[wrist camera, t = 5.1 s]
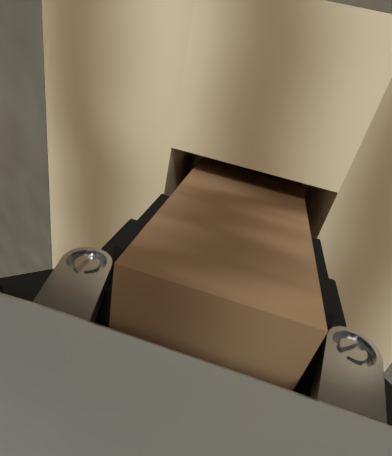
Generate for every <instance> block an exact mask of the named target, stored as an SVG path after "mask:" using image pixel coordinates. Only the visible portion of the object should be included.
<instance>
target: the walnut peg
mask: <svg viewBox="0 0 392 456" xmlns="http://www.w3.org/2000/svg"><path fill="white" fill-rule="evenodd" d="M109 328H112V329H115V330H117V331H120V332H123V333H126V334H129V335H132V336H135V337H138V338H141V339H144V340H147V341H150V342H153V343H156V344H159V345H162V346H164V347H167V348H170V349H173V350H176V351H179V352H182V353H185V354H188V355H191V356H194V357H196V358H199V359H202V360H205V361H208V362H211V363H214V364H217V365H220V366H222V367H225V368H228V369H231V370H234V371H237V372H240V373H243V374H246V375H249V376H251V377H254V378H257V379H260V380H263V381H266V382H269V383H271V384H274V385H277V386H280V387H283V388H286V389H288V390H291V391H293V390H294V388H295V386H296V385H297V383H298V381H299V379H300V378H301V376H302V374H303V373H304V371H305V369H306V368H307V366H308V364H309V363H310V361H311V359H312V358H313V356H314V354H315V353H316V351H317V349H318V347H319V346H320V344H321V342H322V341H323V339H324V337H325V336H326V334H327V332H328V329H327V324H326V318H325V312H324V306H323V301H322V295H321V289H320V284H319V278H318V272H317V267H316V261H315V255H314V249H313V244H312V238H311V232H310V227H309V221H308V215H307V210H306V204H305V198H304V192H303V187H302V183H300V182H296V181H293V180H289V179H285V178H282V177H278V176H274V175H271V174H267V173H263V172H259V171H256V170H252V169H248V168H245V167H241V166H237V165H234V164H230V163H226V162H223V161H219V160H215V159H211V158H208V157H204V156H203V157H202V159H201V160H200V161H199V162H198V163H197V165H196V166H195V167H194V168H193V169H192V171H191V172H190V173H189V174H188V175H187V176H186V178H185V179H184V180H183V181H182V182H181V184H180V185H179V186H178V187H177V188H176V190H175V191H174V192H173V193H172V194H171V196H170V197H169V198H168V199H167V200H166V202H165V203H164V204H163V205H162V206H161V208H160V209H159V210H158V211H157V212H156V214H155V215H154V216H153V217H152V218H151V220H150V221H149V222H148V223H147V224H146V226H145V227H144V228H143V229H142V230H141V232H140V233H139V234H138V235H137V236H136V238H135V239H134V240H133V241H132V242H131V244H130V245H129V246H128V247H127V248H126V250H125V251H124V252H123V253H122V254H121V256H120V257H119V258H118V259H117V260H116V262H115V263H114V271H113V283H112V295H111V308H110V320H109Z"/></svg>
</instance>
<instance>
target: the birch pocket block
mask: <svg viewBox="0 0 392 456" xmlns="http://www.w3.org/2000/svg"><path fill="white" fill-rule="evenodd" d="M42 15H43V40H44V65H45V89H46V114H47V139H48V163H49V188H50V213H51V237H52V262H53V269H54V268H55V267H56V265H57V264H58V262H59V261H60V259H61V258H62V256H63V255H64V254H65V253H67V252H68V251H70V250H72V249H76V248H80V247H95V248H98V249H101V248H102V247H103V246H104V245H105V244H106V243H107V242H108V241H109V240H110V239H111V238H112V237H113V236H114V235H115V234H116V233H117V232H118V231H119V230H120V229H121V228H122V227H123V226H124V225H125V224H126V223H127V222H128V221H129V220H130V219H134V220H138V219H139V218H140V217H141V215H142V214H143V213H144V212H145V211H146V210H147V209H148V208H149V207H150V206H151V205H152V203H153V202H154V201H155V200H156V199H157V198H158V197H159V196H160V195H161V194H165V195H168V196H171V194H172V193H173V192H174V191H175V190H176V188H177V187H178V186H179V185H180V184H181V182H182V181H183V180H184V179H185V178H186V176H187V175H188V174H189V173H190V172H191V171H192V169H193V168H194V167H195V166H196V165H197V163H198V162H199V161H200V160H201V159H202V157H203V156H204V157H208V158H211V159H215V160H219V161H223V162H226V163H230V164H234V165H237V166H241V167H245V168H248V169H252V170H256V171H259V172H263V173H267V174H271V175H274V176H278V177H282V178H285V179H289V180H293V181H296V182H300V183H302V187H303V192H304V198H305V204H306V210H307V215H308V221H309V227H310V232H311V237H314V238H317V239H320V241H321V246H322V250H323V255H324V259H325V264H326V268H327V273H328V277H329V278H330V279H333V280H335V282H336V286H337V290H338V294H339V298H340V302H341V306H342V309H343V313H344V317H345V321H346V325H347V327H348V328H351V329H354V330H356V331H358V332H360V333H361V334H363V335H364V336H366V337H367V338H368V339H369V340H371V341H372V342H373V343H374V345H375V346H376V347H377V348H378V350H379V351H380V353H381V355H382V359H383V368H384V371H385V370H386V369H387V368H388V366H389V365H390V364H391V363H392V14H388V13H383V12H378V11H374V10H369V9H364V8H359V7H354V6H349V5H344V4H339V3H335V2H330V1H325V0H42Z"/></svg>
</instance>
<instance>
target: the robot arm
mask: <svg viewBox="0 0 392 456" xmlns="http://www.w3.org/2000/svg"><path fill="white" fill-rule="evenodd" d="M169 197H170V196H168V195H165V194H161V195H160V196H159V197H158V198H157V199H156V200H155V201H154V202H153V203H152V205H151V206H150V207H149V208H148V209H147V210H146V211H145V212H144V213H143V214H142V215H141V217H140V218H139V219H138V220H134V219H130V220H129V221H128V222H127V223H126V224H125V225H124V226H123V227H122V228H121V229H120V230H119V231H118V232H117V233H116V234H115V235H114V236H113V237H112V238H111V239H110V240H109V241H108V242H107V243H106V244H105V245H104V246H103V247H102V248H101V249H98V248H95V247H80V248H76V249H72V250H70V251H68V252H67V253H65V254H64V255H63V256H62V258H61V259H60V261H59V262H58V264H57V265H56V267H55V268H54V269H50V270H44V271H39V272H33V273H27V274H21V275H16V276H10V277H4V278H0V456H392V385H391V384H390V383H389V382H388V381H387V380H386V379H385V378H384V368H383V359H382V355H381V353H380V351H379V350H378V348H377V347H376V346H375V345H374V343H373V342H372V341H371V340H369V339H368V338H367V337H366V336H364V335H363V334H361V333H360V332H358V331H356V330H354V329H351V328H348V327H347V325H346V321H345V317H344V313H343V309H342V306H341V302H340V298H339V294H338V290H337V286H336V282H335V280H333V279H330V278H329V277H328V273H327V268H326V264H325V259H324V255H323V250H322V246H321V241H320V239H317V238H314V237H311V238H312V244H313V249H314V255H315V261H316V267H317V272H318V278H319V284H320V289H321V295H322V301H323V306H324V312H325V318H326V324H327V329H328V332H327V334H326V336H325V337H324V339H323V341H322V342H321V344H320V346H319V347H318V349H317V351H316V353H315V354H314V356H313V358H312V359H311V361H310V363H309V364H308V366H307V368H306V369H305V371H304V373H303V374H302V376H301V378H300V379H299V381H298V383H297V385H296V386H295V388H294V390H293V391H291V390H288V389H286V388H283V387H280V386H277V385H274V384H271V383H269V382H266V381H263V380H260V379H257V378H254V377H251V376H249V375H246V374H243V373H240V372H237V371H234V370H231V369H228V368H225V367H222V366H220V365H217V364H214V363H211V362H208V361H205V360H202V359H199V358H196V357H194V356H191V355H188V354H185V353H182V352H179V351H176V350H173V349H170V348H167V347H164V346H162V345H159V344H156V343H153V342H150V341H147V340H144V339H141V338H138V337H135V336H132V335H129V334H126V333H123V332H120V331H117V330H115V329H112V328H109V320H110V308H111V295H112V283H113V271H114V263H115V262H116V260H117V259H118V258H119V257H120V256H121V254H122V253H123V252H124V251H125V250H126V248H127V247H128V246H129V245H130V244H131V242H132V241H133V240H134V239H135V238H136V236H137V235H138V234H139V233H140V232H141V230H142V229H143V228H144V227H145V226H146V224H147V223H148V222H149V221H150V220H151V218H152V217H153V216H154V215H155V214H156V212H157V211H158V210H159V209H160V208H161V206H162V205H163V204H164V203H165V202H166V200H167V199H168V198H169Z"/></svg>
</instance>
